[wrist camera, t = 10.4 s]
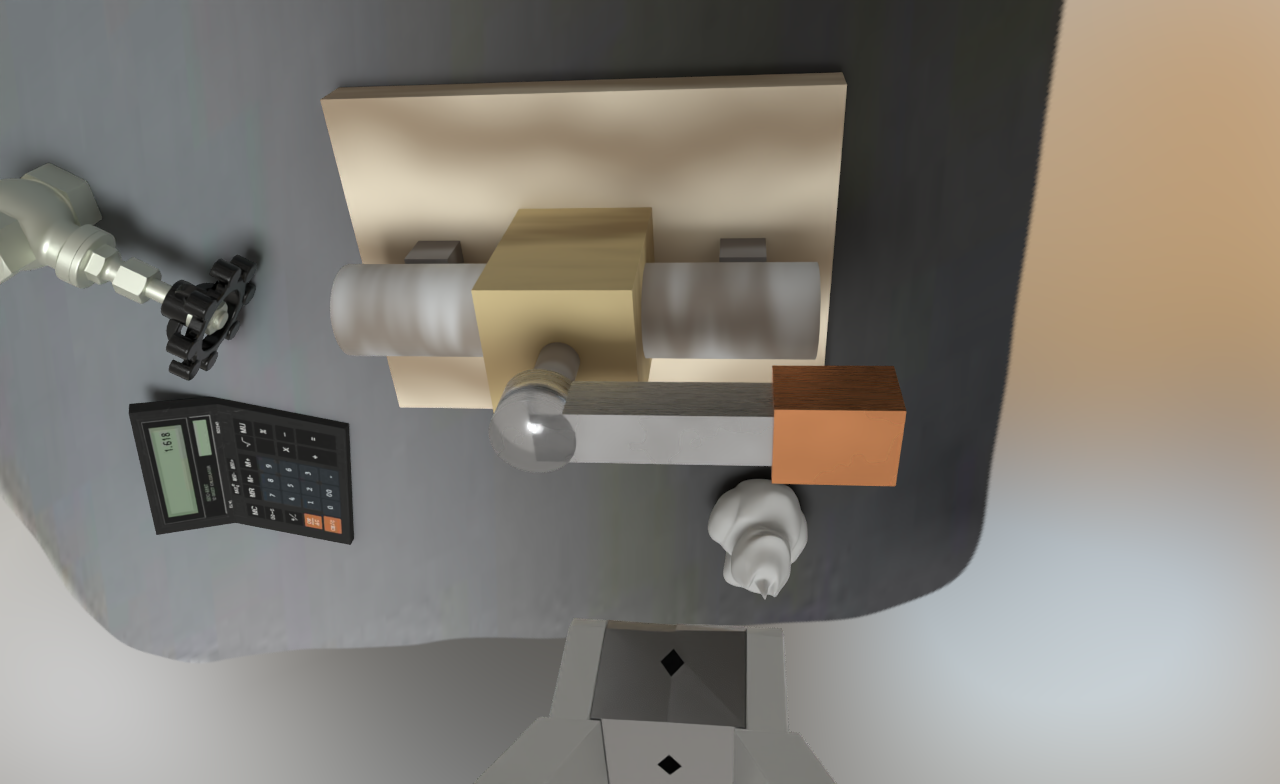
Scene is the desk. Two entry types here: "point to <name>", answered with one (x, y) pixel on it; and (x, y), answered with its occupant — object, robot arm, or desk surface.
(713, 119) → the valve stand
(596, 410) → the valve lever
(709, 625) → the robot arm
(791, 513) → the white meringue swirl
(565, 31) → the desk surface
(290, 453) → the calculator
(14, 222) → the valve
